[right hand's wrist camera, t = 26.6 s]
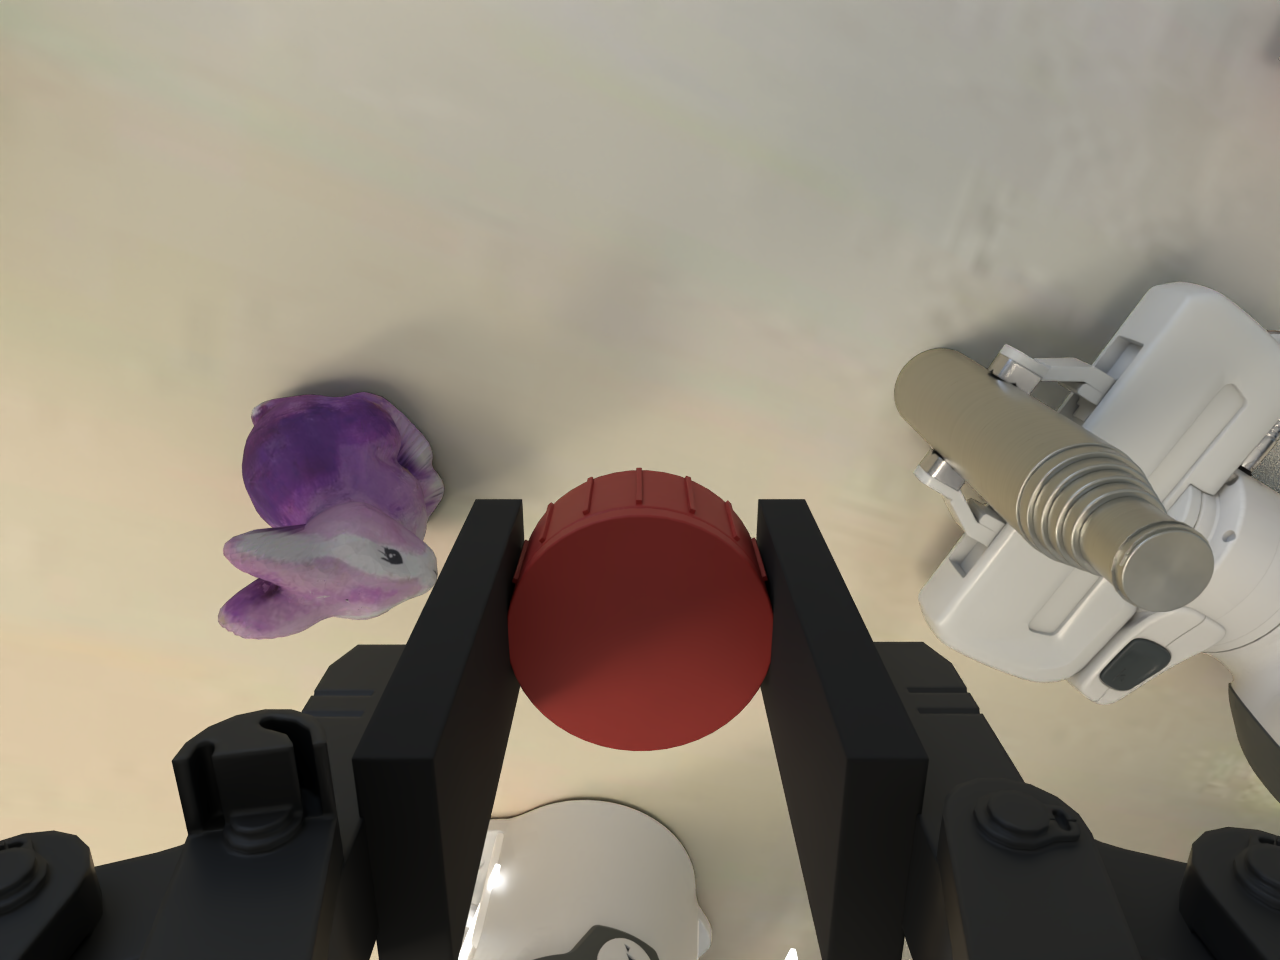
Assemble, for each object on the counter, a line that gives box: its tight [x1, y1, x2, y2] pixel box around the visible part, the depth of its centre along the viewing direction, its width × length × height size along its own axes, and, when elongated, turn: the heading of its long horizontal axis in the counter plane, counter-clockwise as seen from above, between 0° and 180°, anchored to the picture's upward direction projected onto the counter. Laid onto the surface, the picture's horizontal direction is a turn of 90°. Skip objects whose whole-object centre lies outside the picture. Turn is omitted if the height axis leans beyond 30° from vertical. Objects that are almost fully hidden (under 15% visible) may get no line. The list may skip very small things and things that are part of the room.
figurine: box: [218, 392, 444, 639], centre depth 42 cm, size 9×10×15 cm
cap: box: [507, 468, 773, 751], centre depth 14 cm, size 4×4×2 cm
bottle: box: [894, 348, 1214, 612], centre depth 37 cm, size 5×5×22 cm
